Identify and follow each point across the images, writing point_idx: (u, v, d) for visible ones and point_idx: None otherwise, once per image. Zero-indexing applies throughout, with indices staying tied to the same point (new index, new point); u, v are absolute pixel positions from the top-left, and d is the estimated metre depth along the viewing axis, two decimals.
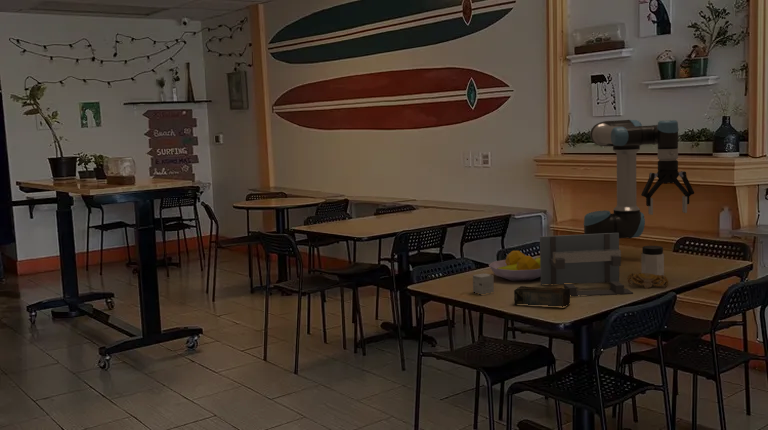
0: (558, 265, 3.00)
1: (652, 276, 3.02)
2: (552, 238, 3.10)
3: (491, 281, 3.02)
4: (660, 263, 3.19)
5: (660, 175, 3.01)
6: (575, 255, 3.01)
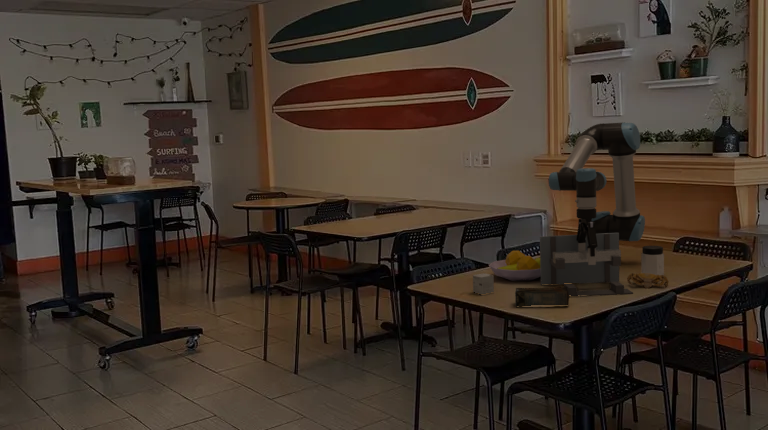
0: (558, 265, 3.00)
1: (652, 276, 3.02)
2: (552, 238, 3.10)
3: (491, 281, 3.02)
4: (660, 263, 3.19)
5: (581, 222, 3.04)
6: (575, 255, 3.01)
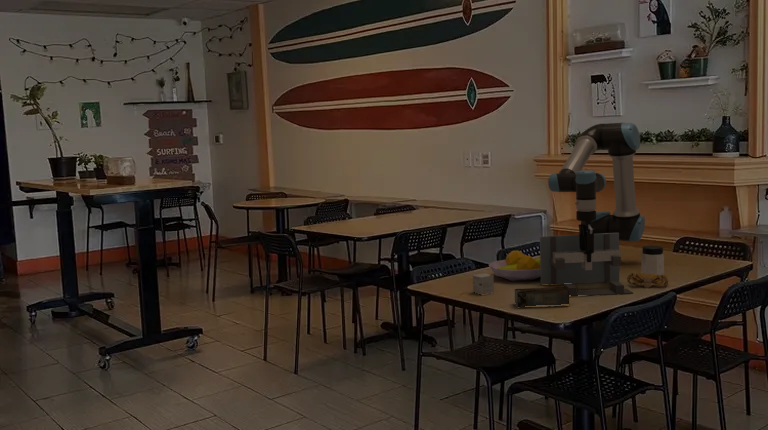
0: (558, 265, 3.00)
1: (652, 276, 3.02)
2: (552, 238, 3.10)
3: (491, 281, 3.02)
4: (660, 263, 3.19)
5: (581, 224, 3.04)
6: (575, 255, 3.01)
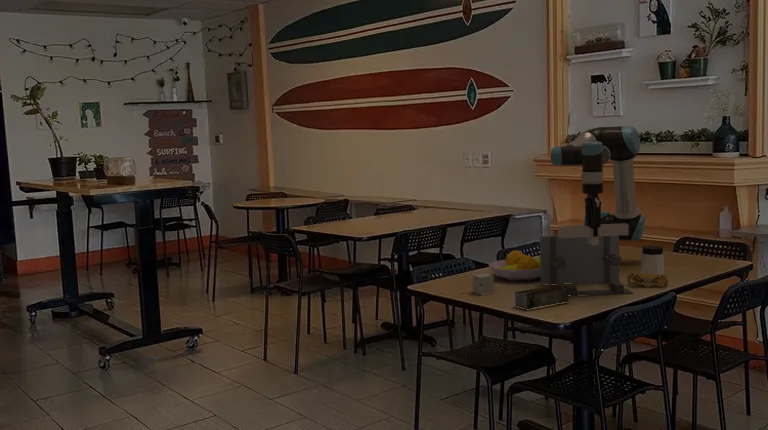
0: (558, 265, 3.00)
1: (652, 276, 3.03)
2: (552, 238, 3.10)
3: (491, 281, 3.02)
4: (660, 263, 3.19)
5: (587, 198, 2.94)
6: (581, 229, 2.90)
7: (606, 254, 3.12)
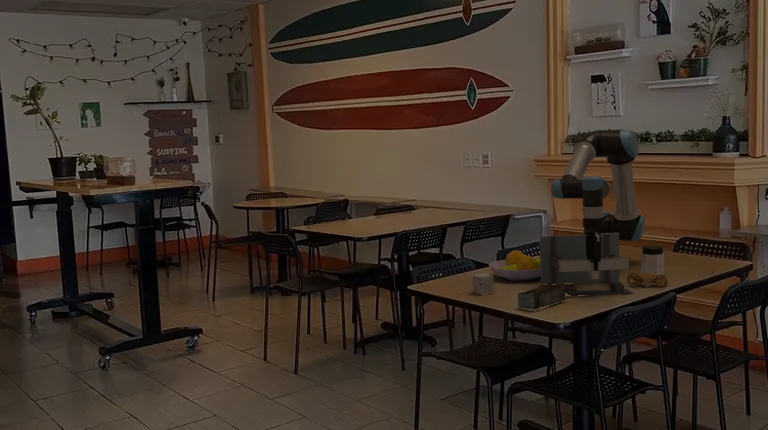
0: None
1: (652, 275, 3.03)
2: (552, 238, 3.10)
3: (491, 281, 3.02)
4: (660, 263, 3.19)
5: (587, 231, 2.95)
6: (581, 263, 2.92)
7: (606, 254, 3.12)
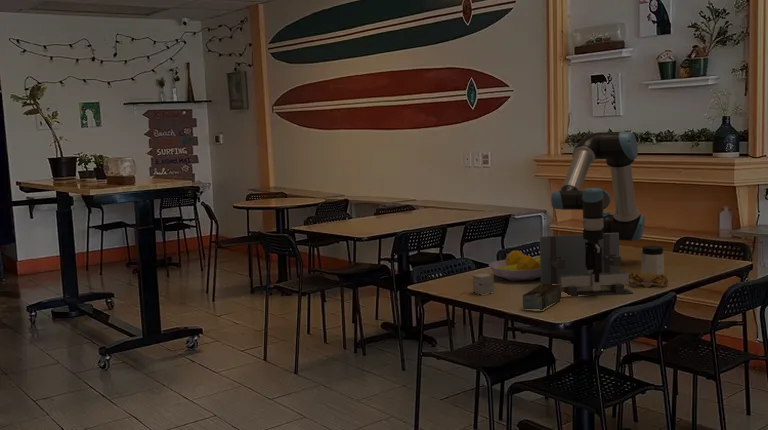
0: (558, 265, 3.00)
1: (652, 275, 3.03)
2: (552, 238, 3.10)
3: (491, 281, 3.02)
4: (660, 263, 3.19)
5: (587, 243, 2.96)
6: (582, 278, 2.93)
7: (606, 254, 3.12)
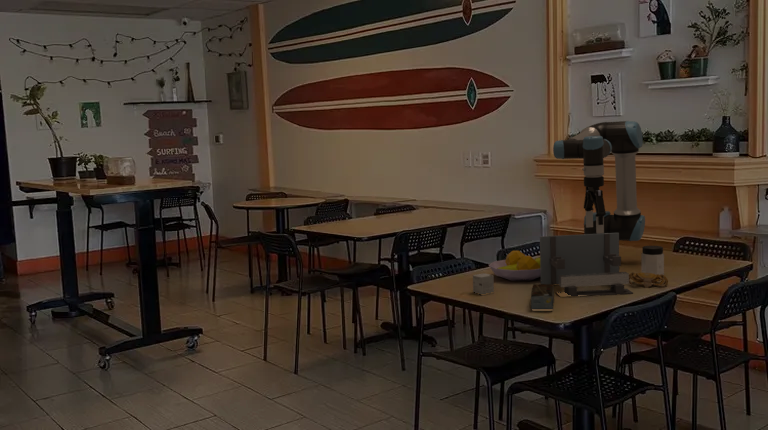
0: (558, 265, 3.00)
1: (652, 275, 3.03)
2: (552, 238, 3.10)
3: (491, 281, 3.02)
4: (660, 263, 3.19)
5: (588, 190, 3.02)
6: (582, 278, 2.93)
7: (606, 254, 3.12)
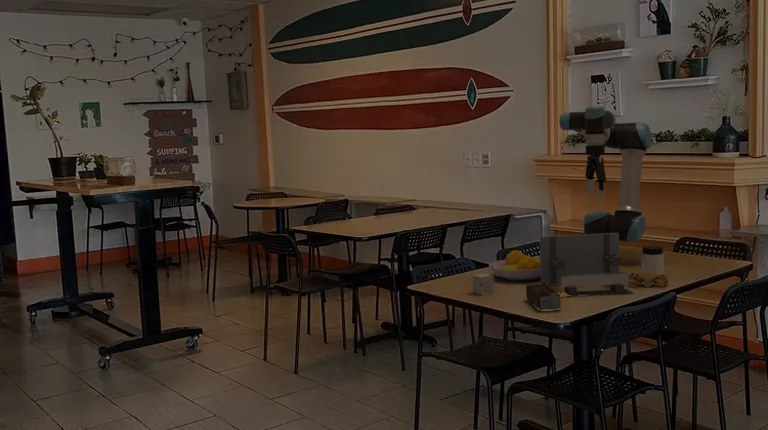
0: (558, 265, 3.00)
1: (652, 275, 3.03)
2: (552, 238, 3.10)
3: (491, 281, 3.02)
4: (660, 263, 3.19)
5: (590, 159, 3.15)
6: (582, 278, 2.93)
7: (606, 254, 3.12)
